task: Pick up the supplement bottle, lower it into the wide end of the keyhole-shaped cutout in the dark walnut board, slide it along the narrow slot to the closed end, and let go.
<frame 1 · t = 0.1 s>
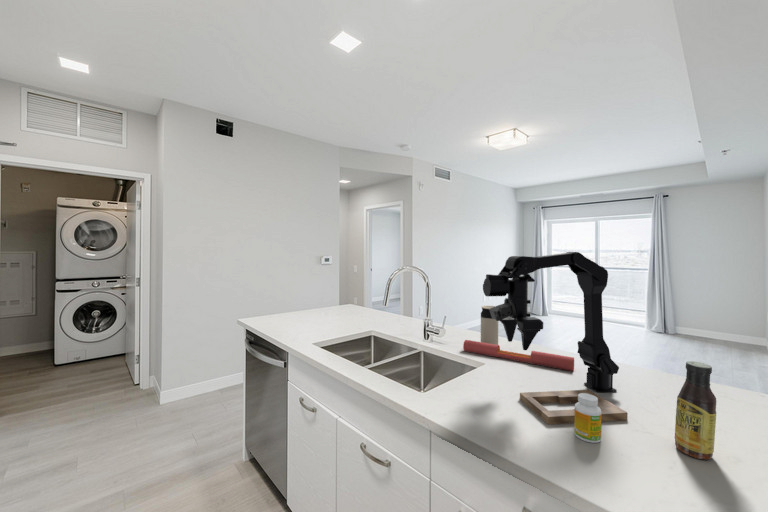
hand: (517, 345, 101), 15 cm above the worktop, tool pointing down, fingers open, 9 cm apart
sauce bottle: (694, 453, 71), on the worktop
supplement bottle: (587, 437, 77), on the worktop
keyhole board: (570, 409, 90), on the worktop
travel mug: (489, 345, 152), on the worktop
blood vessel: (514, 360, 131), on the worktop
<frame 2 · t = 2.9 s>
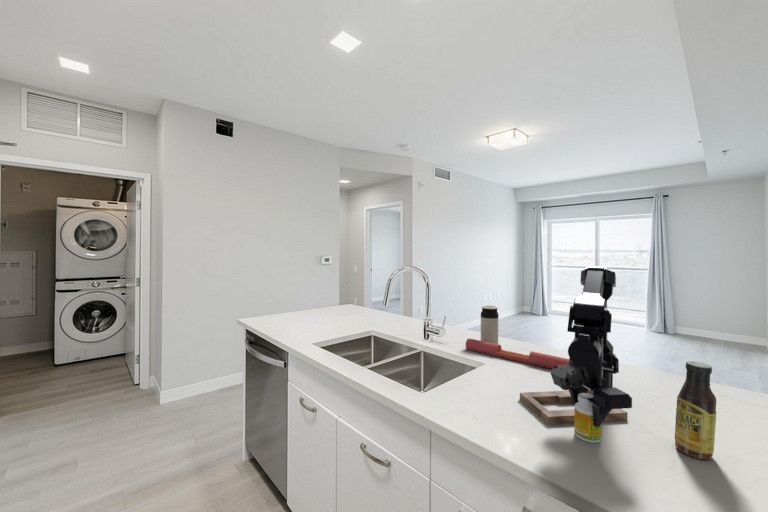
hand: (587, 420, 77), 4 cm above the worktop, tool pointing down, fingers closed on supplement bottle, 5 cm apart
supplement bottle: (587, 437, 77), on the worktop, touching gripper
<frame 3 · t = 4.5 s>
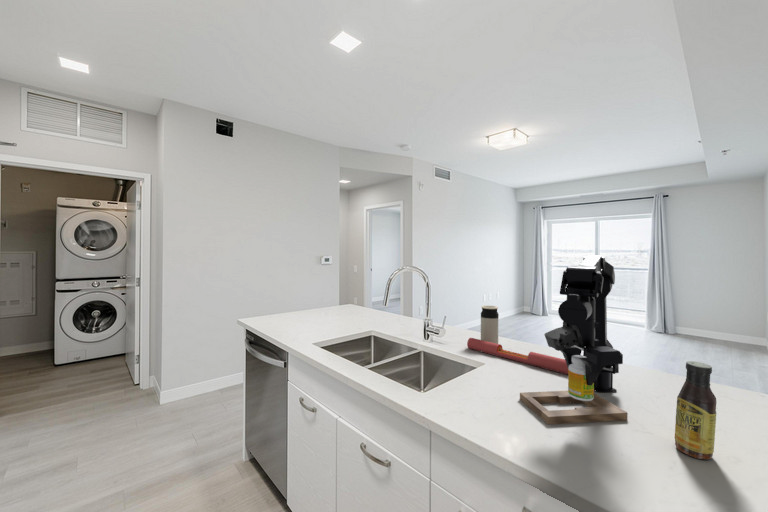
hand: (580, 380, 79), 12 cm above the worktop, tool pointing down, fingers closed on supplement bottle, 5 cm apart
supplement bottle: (580, 397, 79), point 8 cm above the worktop, touching gripper
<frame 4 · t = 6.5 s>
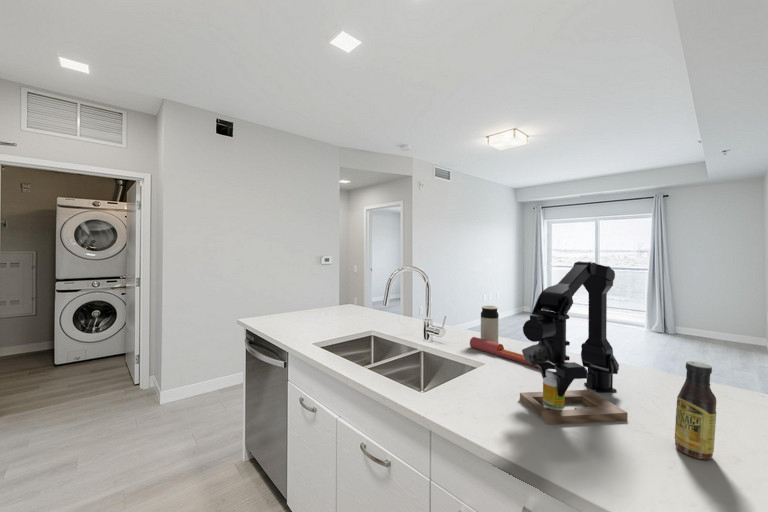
hand: (553, 391, 89), 5 cm above the worktop, tool pointing down, fingers closed on supplement bottle, 5 cm apart
supplement bottle: (553, 406, 90), point 1 cm above the worktop, touching gripper
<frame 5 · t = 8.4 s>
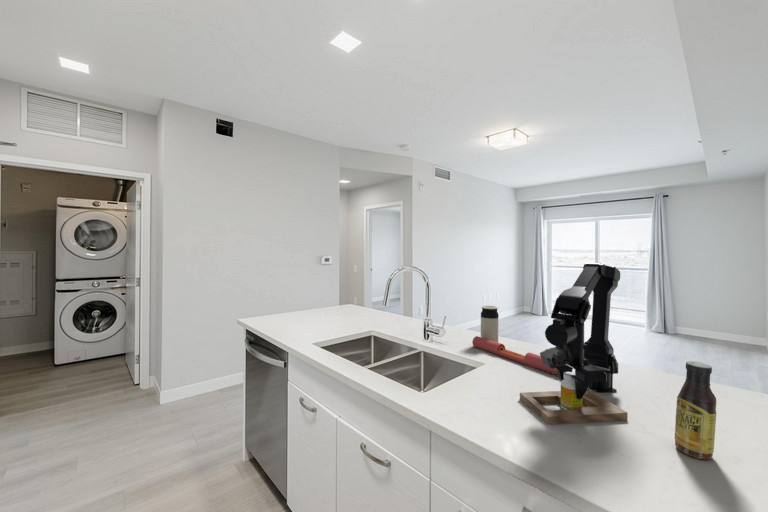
hand: (571, 394, 90), 4 cm above the worktop, tool pointing down, fingers closed on supplement bottle, 5 cm apart
supplement bottle: (571, 409, 90), resting in keyhole board, touching gripper
when the fingers open (4 cm above the worktop, at t = 10.2 s): supplement bottle stays where it is, resting in keyhole board.
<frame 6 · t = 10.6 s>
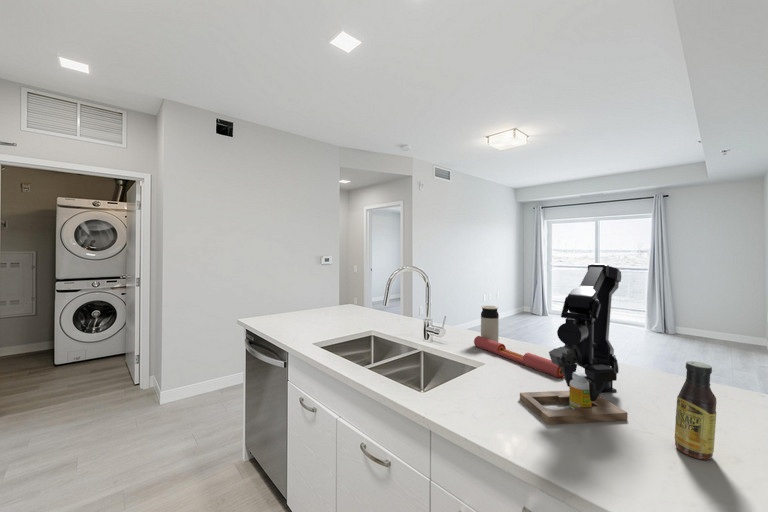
hand: (580, 393, 90), 4 cm above the worktop, tool pointing down, fingers open, 9 cm apart
supplement bottle: (580, 409, 90), resting in keyhole board
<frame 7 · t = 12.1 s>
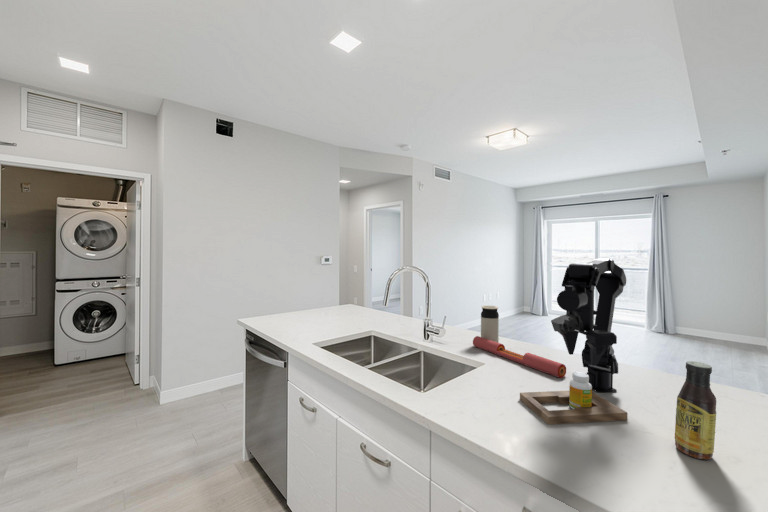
hand: (581, 359, 94), 13 cm above the worktop, tool pointing down, fingers open, 9 cm apart
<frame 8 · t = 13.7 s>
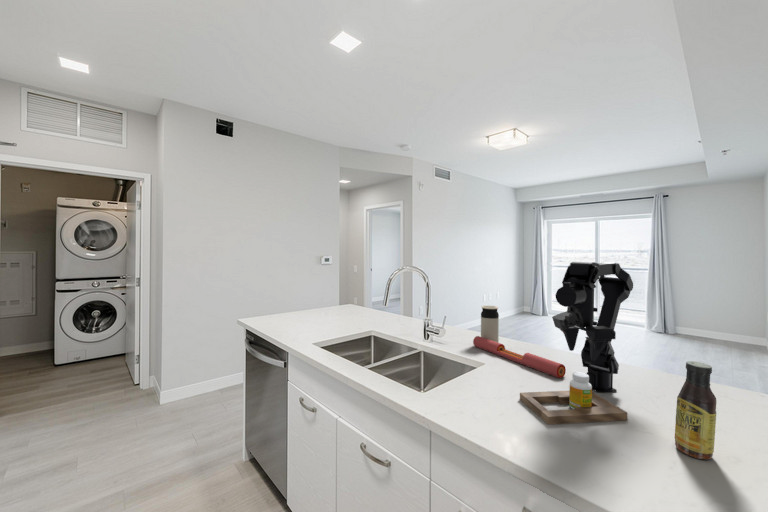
hand: (581, 355, 97), 13 cm above the worktop, tool pointing down, fingers open, 9 cm apart
at the end: supplement bottle 0.1 cm from the target spot on the keyhole board, point 0.0 cm above the keyhole board's base; supplement bottle tilted 0°; the gripper is holding nothing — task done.
